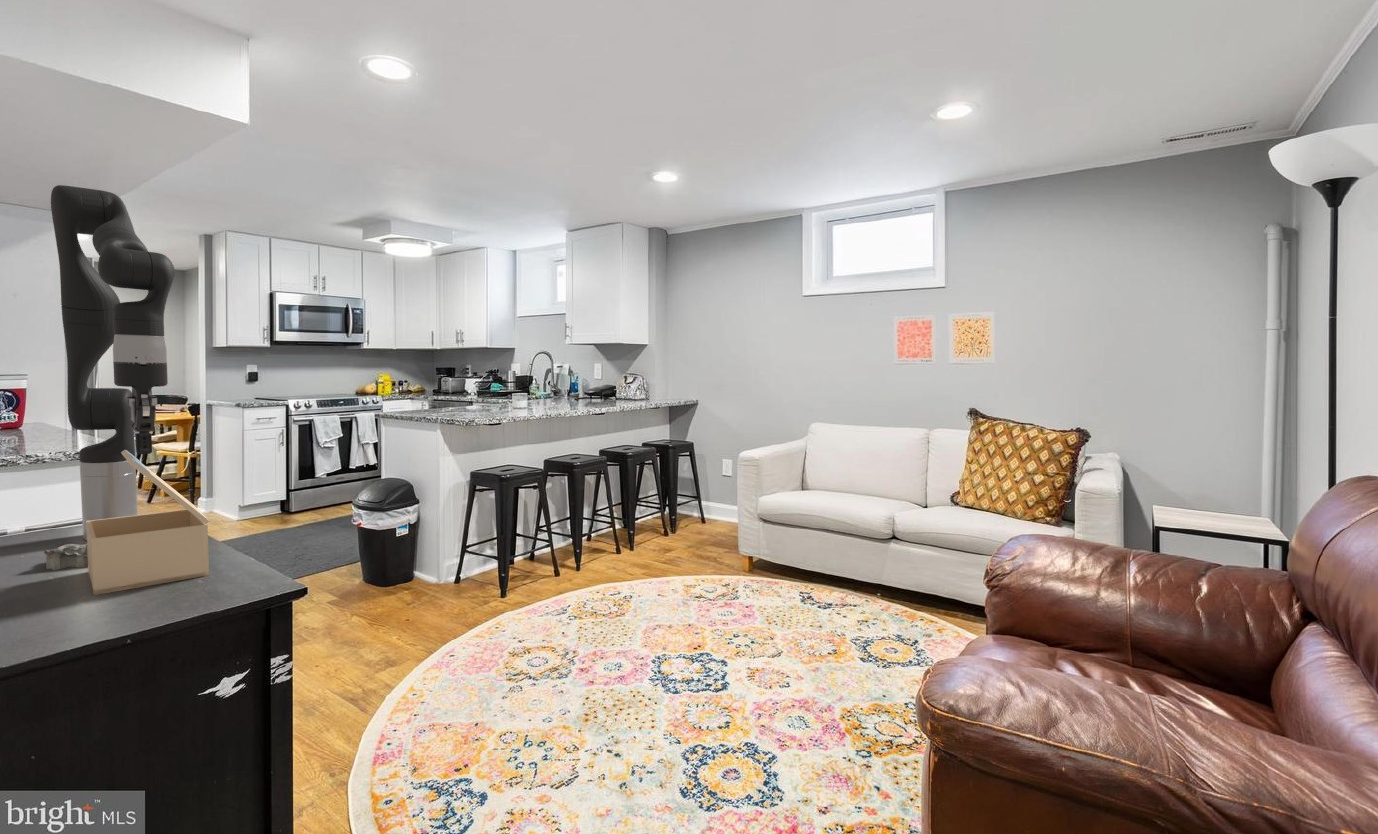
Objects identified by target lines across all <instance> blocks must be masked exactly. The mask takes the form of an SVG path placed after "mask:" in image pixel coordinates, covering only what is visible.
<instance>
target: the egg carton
mask: <svg viewBox="0 0 1378 834" xmlns="http://www.w3.org/2000/svg"><path fill="white" fill-rule="evenodd" d="M44 555H46V556H45V560H46V564H45V565H46V566H45V567H46V570H52V571H56V570H62V569H64V568H69V567H70V568H71V567H76V568H82V567H83V568H84V567H88V553H87V543H84V544H83V543H82V544H76V543H67V544H64V545H61V546H58V547H57V548H53V549H52V550H50V549H48V550H47V549H46V550H44Z"/></svg>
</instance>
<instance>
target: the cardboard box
mask: <svg viewBox="0 0 1378 834" xmlns="http://www.w3.org/2000/svg"><path fill="white" fill-rule="evenodd" d="M208 530H209V529H208V523H207V524H205V523H203V522H202V521H201V520H200V519H198V518H197V517H196V516H194V515H193V514H192V513H191V512H189V511H188V510H187V509H181V510H172V511H165V512H164V511H163V512H162V511H161V512H155V513H145V514H138V515H135V516H126V517H117V518H108V519H99V520H90V521H86V531H87V540H86V544H87V553H88V565H87V569H88V570H87V571H88V576H89V580H90V584H91V589H92V593H93V596H96V595H97V596H98V595H103V594H109V593H113V592H115V593H116V592H119V591H126V590H127V591H128V590H131V589H137V588H144V587H149V586H154V585H161V584H166V583H173V582H178V581H183V580H190V579H195V578H197V579H198V578H201V577H209V576H210V568H209V567H210V566H209V565H210V562H209V561H210V559H209V558H210V557H209V532H208Z"/></svg>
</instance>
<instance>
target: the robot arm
mask: <svg viewBox="0 0 1378 834" xmlns="http://www.w3.org/2000/svg"><path fill="white" fill-rule="evenodd" d="M50 209H51V215H52V216H51V218H52V224H53V230H54V236H55V241H56V243H55V244H56V249H57V256H58V263H59V264H58V265H59V280H60V282H59V284H60V305H61V306H60V308H61V318H62V320H61V321H62V325H63V327H62V328H63V334H64V341H65V342H64V343H65V350H66V351H65V352H66V368H67V369H66V370H67V371H66V374H67V377H66V378H67V379H66V380H67V382H66V383H67V385H66V386H67V387H66V389H67V393H66V394H67V395H66V396H67V399H66V401H67V416H68V420H69V424H70V426H71V427H72V428H73V429H74V430H77V431H100V430H101V431H106V430H110V431H111V430H115V433H114V435H112V436H111V437H109V438H107V439H105V440H103V441H101V442H98V443H95V444H90V445H88V446H84V447H82V448H81V449H80V450H79V454H78V456H79V474H80V493H81V496H80V497H81V512H82V513H81V514H82V515H81V519H82V539H83V540H84V541H87V531H86V521H90V520H99V519H108V518H117V517H126V516H135V515H139V513H138V490H137V489H138V488H137V469H135V468H134V467H133V466H132V465H130V464H129V462H128V461H127V460H126V459H125V457H124V456H123V455H122V453H121V452H122V451H124V450H127V451H128V452H129V453H131V454H132V455H133V456H134V457H136V454H138V455H149V454H152V452H153V443H152V442H153V437H152V434H153V432H154V431H155V421H156V420H157V418H156V416H157V415H156V414H157V413H156V410H157V406H158V396H155V395H153V391H152V389H153V388H154V387H158V388H159V387H160V388H161V387H165V386H168V384H169V383H168V380H169V378H168V361H167V360H168V359H167V358H168V357H167V355H168V354H167V345H166V340H165V309H166V303H167V300H168V297H169V293H170V291H171V288H172V285H173V282H174V278H175V273H176V272H175V271H176V270H175V265H174V264H173V262H172V261H171V259H170V258H169V257H168V256H167V255H166V254H163V253H159V252H155V251H149V250H148V248H147V246H146V245H145V243H144V242H143V241H141V239H140V238H139V237H138V235H137V234H136V232H135V228H134V225H133V223H132V220H131V217H130V215H129V212H128V209H127V207H126V204H125V203H124V201H123V200H122V198H121V197H119V196H118V195H117V194H116V193H113V192H111V191H106V190H102V189H101V190H100V189H95V188H86V187H79V186H74V185H73V186H70V185H66V184H65V185H64V184H58V185H54V187H53V188H52V190H51V194H50ZM79 234H80V235H89V236H92V238H91V239H92V245H93V247H94V249H95V251H96V253H97V254H98V256H99V258H98V261H97V262H98V263H97V270H96V268H95V267H94V266H93V264H91V262H90V261H89V259H88V258H87V256H86V255H85V253H84V251H83V248H82V246H81V244H80V241H79V237H78V235H79ZM112 287H114V288H120V289H131V290H141V291H142V290H143V291H148V292H147V295H146V296H145V297H144V298H143V299H142V300H135V301H124V302H123V301H122V302H121V301H120V298H119V296H118V295H117V293H116V292H115V290H114V289H113V288H112ZM111 347H112V358H113V359H112V363H113V383H114V385H115V386H117V387H118V388H117V387H116V388H115V387H101V388H100V387H88V382H89V378H90V376H91V374H92V372H93V370H94V368H95V367H96V365H97V364H98V362H99V361H100V359H101V358H102V357H103V356H104V355H105V353H106V352H107V351H108V350H109V349H110V348H111ZM121 387H126V388H121ZM127 387H128V388H127ZM129 388H132V389H131V390H130V389H129Z"/></svg>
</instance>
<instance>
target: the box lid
mask: <svg viewBox="0 0 1378 834" xmlns="http://www.w3.org/2000/svg"><path fill="white" fill-rule="evenodd" d="M121 453H122V455H123V456H124V457H125V459H126V460H127V461H128V462H129V464H130V465H132V466H133V467H134V468H135V469H136V471H138V472H139V473H140V474H142V475H143V476H145V478H147V479H148V480H149V481H150V482H152V483H153V484H154V485H155V486H156V487H158V488H159V489H160V490H162V491H164V493H165V494H167V495H168V496H169V497H171V498H172V499H173V500H174V501H176V502H177V503H178V504H179V505H181V507H183V508H184V509H185V510H188V511H189V512H191V513H192V514H193V515H194V516H196V517H197V518H198V519H200V520H201V521H202V522H203V523H205V524H207V525H208V523H209V522H210V520H209V519H208V518H207V517H206V516H205V515H204V513H202V512H201V511H200V510H199V508H197V507H196V506H195V504H193V503H192V502H191V501H190V500H188V499H187V498H186V497H184V496H183V495H182V494H181V493H179V492H178V491H177V490H176V489H175V488H173V487H172V486H171V485H170V484H168V483H167V482H166V481H164V480H163V479H162V478H161V477H160V476H158V475H157V474H156V473H155V472H153V470H151V469H150V468H149V467H147V466H146V465H145V464H143V463H142V462H141V461H140V459H138V458H137V457H136V456H135V457H134V456H133V455H132V454H131V453H129V452H128V451H127V450H124V451H122V452H121Z"/></svg>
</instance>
